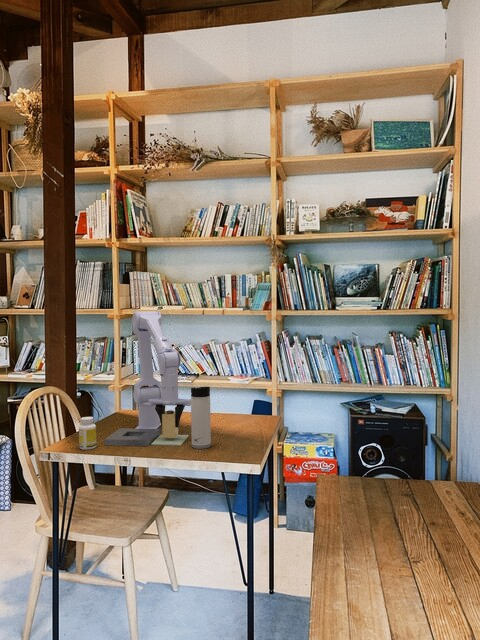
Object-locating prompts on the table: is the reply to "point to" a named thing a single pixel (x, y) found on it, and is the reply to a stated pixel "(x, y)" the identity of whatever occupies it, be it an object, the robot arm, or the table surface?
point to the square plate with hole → (133, 437)
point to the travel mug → (200, 417)
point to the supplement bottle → (87, 433)
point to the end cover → (169, 424)
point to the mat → (170, 440)
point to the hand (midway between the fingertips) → (170, 426)
